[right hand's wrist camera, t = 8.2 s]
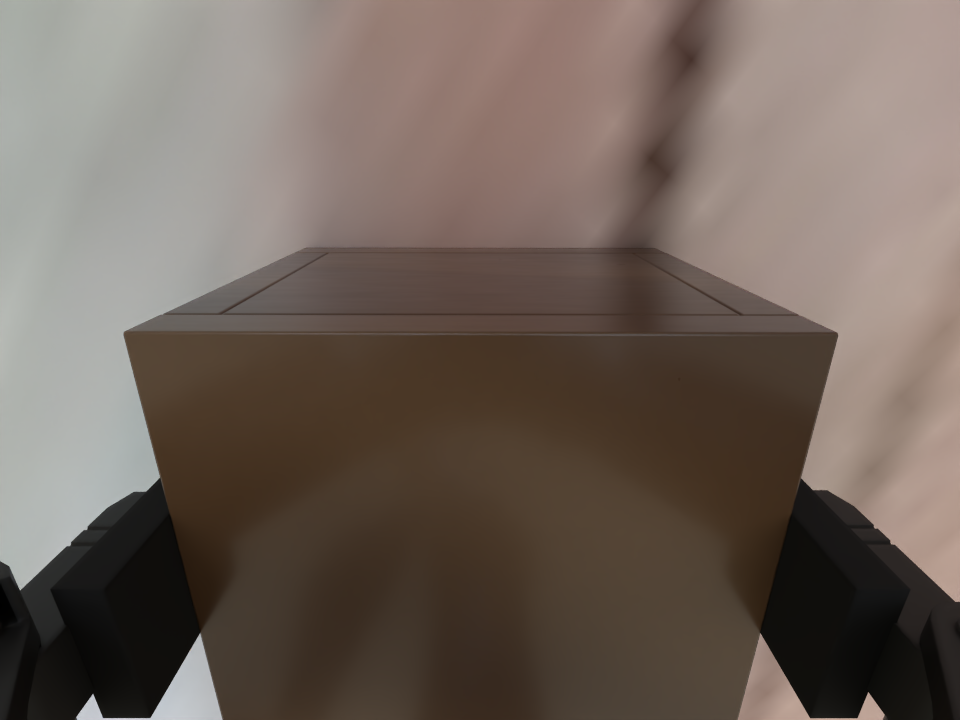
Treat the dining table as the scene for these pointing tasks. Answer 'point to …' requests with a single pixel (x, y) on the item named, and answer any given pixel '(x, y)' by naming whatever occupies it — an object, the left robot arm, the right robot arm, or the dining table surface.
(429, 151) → the dining table surface
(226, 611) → the cabinet
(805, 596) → the right robot arm
